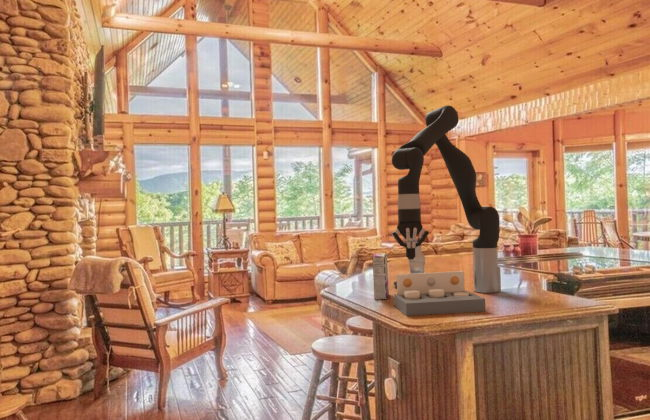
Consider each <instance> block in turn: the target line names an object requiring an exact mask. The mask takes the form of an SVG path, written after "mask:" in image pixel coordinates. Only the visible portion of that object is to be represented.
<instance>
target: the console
mask: <svg viewBox="0 0 650 420" xmlns="http://www.w3.org/2000/svg"><path fill="white" fill-rule="evenodd" d="M396 281H397V287H396V293H394V294H393V299H394V300H393V301H394V302H393V303H394V305H395V306H396V307H395V306H394V307H395V308H397V310H399V311H400V312H401V313H402V314H404V315H405V316H406V317H412V316H413V315H415V316H429V315H430V314H432V315H444V314H446V315H447V314H449V315H450V314H461V313H462V314H463V313H478V312H479V313H481V312H487V311H486V310H487V309H486V298H484V297H482V296H479V295H477V294H475V293H473V292H470V291H468V290H465V289H466V287H465V271H464V270H461V271H460V270H457V271H439V272H435V271H434V272H424V273H416V274H410V273H399V274H396ZM430 289H443V290H444V297H442V298H430V297H429V290H430ZM407 290H417V291H420V299H405V294H404V291H407ZM455 292H467V293H469V296H460V297H455V296H454V295H453V293H455ZM413 317H414V316H413Z"/></svg>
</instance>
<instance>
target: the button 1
mask: <svg viewBox="0 0 650 420" xmlns="http://www.w3.org/2000/svg"><path fill="white" fill-rule="evenodd" d="M404 294H405V299H420V291H417V290H407V291H404Z"/></svg>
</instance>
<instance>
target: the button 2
mask: <svg viewBox="0 0 650 420" xmlns="http://www.w3.org/2000/svg"><path fill="white" fill-rule="evenodd" d="M453 295H454V296H455V297H460V296H469V293H467V292H455V293H453Z"/></svg>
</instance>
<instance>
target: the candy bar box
mask: <svg viewBox="0 0 650 420" xmlns="http://www.w3.org/2000/svg"><path fill="white" fill-rule="evenodd" d="M388 271H389V270H388V254H387V252H382V253H381V252H377V253H374V254H373V256H372V273H373V274H372V275H373V277H372V279H373V291H374V292H373V293H374V295H373V297H374V300H378V299H385V300H388V297H389V295H390V292H389V290H390V289H389V275H388V274H389V273H388ZM378 301H379V300H378Z"/></svg>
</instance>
